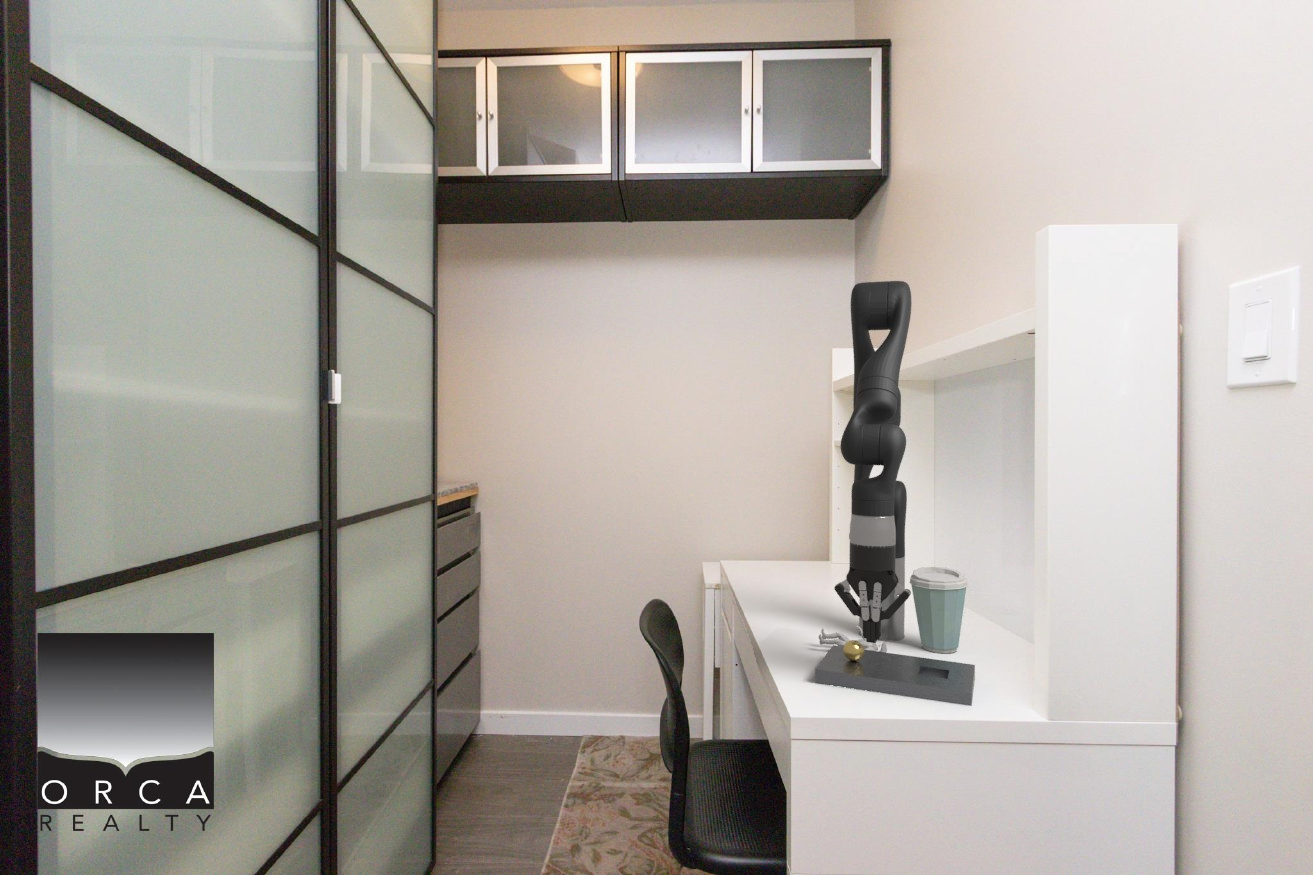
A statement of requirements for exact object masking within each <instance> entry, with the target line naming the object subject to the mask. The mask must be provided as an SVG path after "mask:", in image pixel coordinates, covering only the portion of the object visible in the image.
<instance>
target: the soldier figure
mask: <svg viewBox="0 0 1313 875" xmlns="http://www.w3.org/2000/svg"><path fill="white" fill-rule="evenodd" d="M856 629H857V630H858V632H859V631H860V632H861V633H859V635H860V636H861V638H860V639H854V640H855V641H858V642H860V643H861V644H862V646H863V648H864V650H871V651H878V652H885V653H888V648H887V644H886V642H885V641H884V640H883V643H882V644H878V645H877V644H876V643H871V642H867V641H866V638H864V637H863V631H862V629H861V628H860V627H859V624H858V625H856ZM818 639H819V645H821V646H822V645H832V646H833V645H835V646H842V647H844V645H845V644H846V643H847V642H848V641H850V640H851V639H850V638H849V637H848V636H846V635H845V634H844V633H842V632H837V631H836V632H835V633H828V634H826V632H825V629H824V628H822V629H821V631H820V633H819V635H818ZM879 648H880V650H879Z"/></svg>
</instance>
